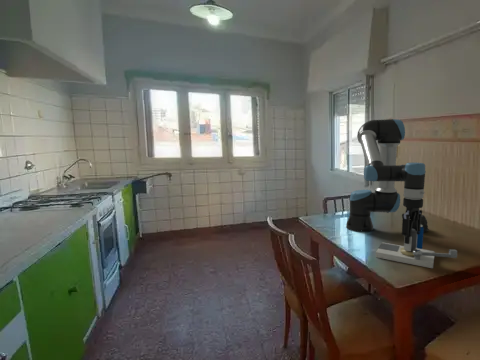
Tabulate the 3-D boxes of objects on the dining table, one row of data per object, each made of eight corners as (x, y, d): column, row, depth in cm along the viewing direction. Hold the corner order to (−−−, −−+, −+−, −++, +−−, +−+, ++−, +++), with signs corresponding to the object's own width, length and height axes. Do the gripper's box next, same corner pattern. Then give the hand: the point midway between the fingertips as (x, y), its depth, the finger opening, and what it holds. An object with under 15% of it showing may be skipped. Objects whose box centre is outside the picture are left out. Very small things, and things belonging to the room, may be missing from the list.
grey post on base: (398, 259, 130) (400, 230, 129) (401, 254, 137) (402, 225, 135) (418, 263, 126) (420, 232, 124) (420, 257, 132) (422, 228, 130)
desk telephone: (375, 257, 134) (376, 248, 133) (381, 247, 146) (382, 239, 145) (432, 268, 121) (433, 258, 121) (434, 256, 133) (435, 247, 133)
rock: (433, 230, 162) (426, 213, 165) (414, 234, 164) (408, 217, 167) (426, 232, 173) (420, 215, 176) (409, 235, 175) (403, 219, 178)
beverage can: (408, 245, 148) (409, 222, 146) (423, 248, 144) (424, 224, 142) (405, 249, 143) (407, 225, 141) (421, 252, 139) (422, 227, 137)
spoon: (411, 252, 127) (412, 246, 127) (454, 255, 123) (454, 248, 123) (414, 255, 124) (414, 249, 123) (457, 258, 120) (458, 251, 119)
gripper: (412, 202, 120) (409, 256, 123) (431, 196, 129) (428, 247, 133) (394, 199, 126) (391, 250, 129) (413, 194, 136) (411, 242, 139)
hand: (410, 248), depth 131 cm, fingers closed on grey post on base, 4 cm apart
